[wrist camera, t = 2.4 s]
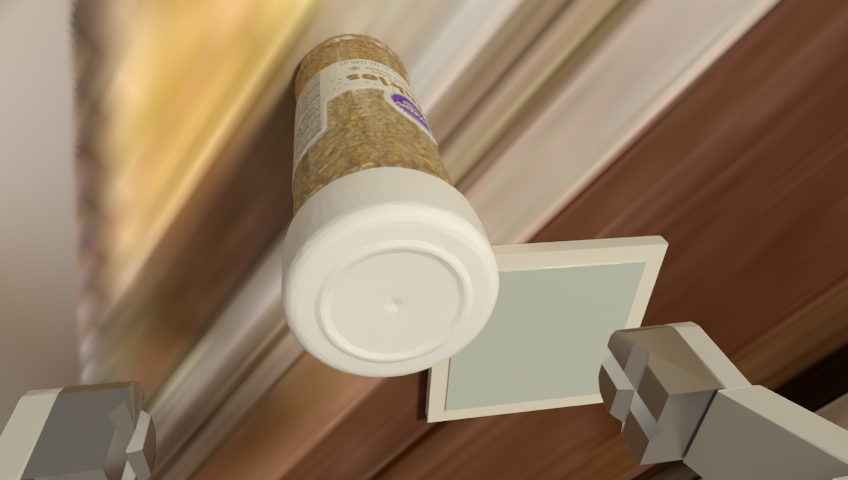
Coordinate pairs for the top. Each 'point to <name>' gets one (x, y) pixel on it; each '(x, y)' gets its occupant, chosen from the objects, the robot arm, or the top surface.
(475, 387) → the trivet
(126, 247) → the top surface
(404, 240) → the sprinkles bottle
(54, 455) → the robot arm
